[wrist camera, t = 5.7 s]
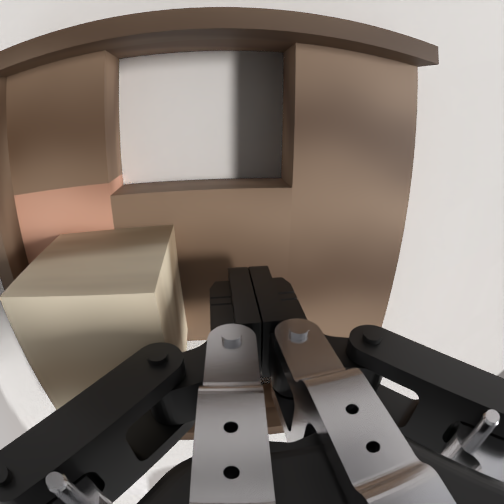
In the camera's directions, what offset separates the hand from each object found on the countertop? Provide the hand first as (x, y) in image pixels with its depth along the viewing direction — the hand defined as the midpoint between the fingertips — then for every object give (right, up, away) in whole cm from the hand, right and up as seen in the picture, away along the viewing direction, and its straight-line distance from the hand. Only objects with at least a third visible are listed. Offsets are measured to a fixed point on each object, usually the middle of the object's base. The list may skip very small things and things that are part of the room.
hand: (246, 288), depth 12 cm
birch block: (-5, 0, 0) cm, 5 cm away
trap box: (-2, +1, +3) cm, 3 cm away
